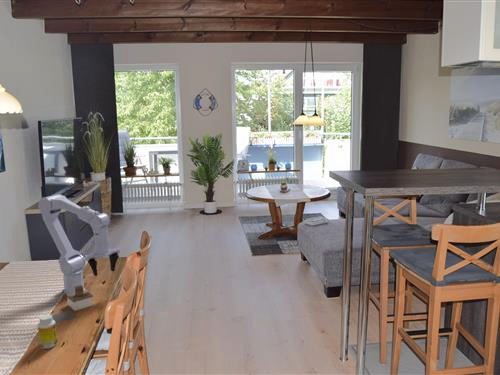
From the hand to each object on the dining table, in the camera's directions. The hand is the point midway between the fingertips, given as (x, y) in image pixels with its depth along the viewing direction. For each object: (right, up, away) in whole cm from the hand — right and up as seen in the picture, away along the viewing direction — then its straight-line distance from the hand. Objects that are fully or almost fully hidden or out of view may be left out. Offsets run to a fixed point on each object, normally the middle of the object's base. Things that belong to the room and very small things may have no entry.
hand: (104, 273), depth 194 cm
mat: (-10, -14, -18) cm, 25 cm away
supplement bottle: (-6, -17, -39) cm, 43 cm away
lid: (-7, -8, -9) cm, 14 cm away
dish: (-7, -12, -8) cm, 16 cm away
